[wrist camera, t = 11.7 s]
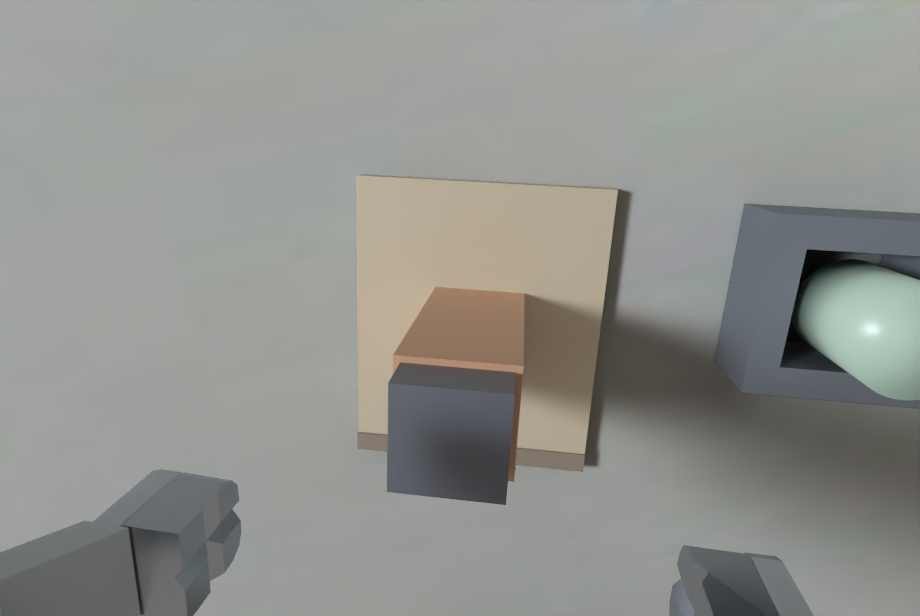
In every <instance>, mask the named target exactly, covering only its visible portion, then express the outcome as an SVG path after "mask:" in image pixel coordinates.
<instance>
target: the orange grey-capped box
mask: <svg viewBox="0 0 920 616" xmlns="http://www.w3.org/2000/svg"><path fill="white" fill-rule="evenodd" d="M523 368H524V293H513V292H499V291H485V290H472V289H458V288H445V287H435V288H434V290H433V292H432V293H431V295H430V296H429V298H428V300H427V301H426V303H425V304H424V306H423V308H422V309H421V311H420V312H419V314H418V316H417V317H416V319H415V320H414V322H413V324H412V325H411V327H410V329H409V330H408V332H407V333H406V335H405V337H404V338H403V340H402V341H401V343H400V345H399V346H398V348H397V349H396V351H395V353H394V354H393V375H392V377H391V379H390V381H389V382H388V453H387V492H394V493H403V494H412V495H421V496H430V497H439V498H448V499H458V500H467V501H476V502H485V503H494V504H503V505H506V496H507V483H508V481H514V474H515V462H516V450H517V439H518V427H519V415H520V404H521V392H522V380H523Z"/></svg>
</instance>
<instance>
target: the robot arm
mask: <svg viewBox="0 0 920 616" xmlns="http://www.w3.org/2000/svg"><path fill="white" fill-rule="evenodd" d="M238 501H239V495H238V487H237V484H235V483H234V482H233V481H231V480H225V479H219V478H213V477H207V476H201V475H195V474H189V473H181V472H176V471H169V470H163V469H160V470H155V471H152V472H151V473H150V474H149V475H147V476H146V477H145V478H144V479H143V480H142V481H140V482H139V483H138V484H137V485H136V486H134V487H133V488H132V489H131V490H130V491H129V492H127V493H126V494H125V495H124V496H123V497H122V498H120V499H119V500H118V501H117V502H116V503H114V504H113V505H112V506H111V507H110V508H109V509H107V510H106V511H105V512H104V513H103V514H101V515H100V516H99V517H98V518H97V519H96V520H94V521H93V522H90V521H83V522H80V523H77V524H75V525H72V526H70V527H67V528H64V529H62V530H59V531H56V532H54V533H51V534H48V535H46V536H43V537H40V538H38V539H35V540H32V541H30V542H27V543H24V544H22V545H19V546H17V547H14V548H11V549H9V550H6V551H3V552H1V553H0V616H193V615H194V614H195V613H196V611H197V610H198V608H199V607H200V606H201V604H202V603H203V602H204V600H205V599H206V598H207V596H208V595H209V593H210V581H211V580H212V579H214V578H216V577H218V576H220V575H222V574H223V573H225V571H226V570H227V569H228V567H229V566H230V564H231V563H232V561H233V559H234V557H235V554H236V552H237V549H238V547H239V543H240V536H241V521H240V519H239V518H238V516H237V515H236V514H235V512H234V511H233V510H232V508H233V507H234V506H235V505H236V503H237V502H238ZM677 565H678V569H679V572H680V575H681V579H680V580H679V581H678V582H676V583H675V584H674V585H673V586H672V591H671V597H670V609H669V616H814V615H813V614H812V612H811V610H810V608H809V607H808V605H807V603H806V601H805V600H804V598H803V596H802V595H801V593H800V591H799V589H798V588H797V586H796V584H795V582H794V581H793V579H792V577H791V576H790V574H789V572H788V570H787V569H786V567H785V565H784V563H783V562H782V560H780V559H779V558H778V557H776V556H769V555H761V554H752V553H744V554H743V553H736V552H729V551H722V550H714V549H707V548H700V547H693V546H685V545H684V546H683V547H682V549H681V551H680V554H679V559H678V563H677Z"/></svg>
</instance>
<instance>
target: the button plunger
mask: <svg viewBox="0 0 920 616" xmlns="http://www.w3.org/2000/svg"><path fill="white" fill-rule="evenodd" d="M791 319H792V323H793V326H794V328H795V330H796V332H797V334H798V335H799V336H800V337H801V338H802V339H803V340H804V341H805V342H806V343H807V344H809V345H810V346H812V347H813V348H814V349H816V350H817V351H819V352H820V353H821V354H823V355H824V356H826V357H827V358H828V359H830V360H831V361H833V362H834V363H835V364H837V365H838V366H840V367H841V368H842V369H844V370H845V371H846V372H848V373H849V374H851V375H852V376H853V377H855V378H856V379H858V380H859V381H860V382H862V383H863V384H865V385H866V386H867V387H869V388H870V389H872V390H873V391H875V392H876V393H878V394H880V395H883V396H885V397H888V398H892V399H897V400H920V280H918V279H915V278H912V277H909V276H906V275H903V274H901V273H898V272H895V271H892V270H889V269H886V268H883V267H881V266H878V265H875V264H872V263H869V262H866V261H862V260H855V259H846V260H839V261H835V262H832V263H829V264H826V265H824V266H822V267H820V268H818V269H817V270H815V271H814V272H813V273H811V274H810V275H809V276H808V277H807V278H806V279H805V280H804V281H803V282H802V283H801V285H800V286H799V288H798V290H797V295H796V299H795V303H794V308H793V312H792V316H791Z"/></svg>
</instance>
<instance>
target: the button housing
mask: <svg viewBox="0 0 920 616" xmlns="http://www.w3.org/2000/svg"><path fill="white" fill-rule="evenodd" d="M807 249H812V250H827V251H843V252H859V253H875V254H883V258H882V261H881V265H880V266H881V267H883V268H886V269H889V270H892V271H895V272H898V273H901V274H903V275H906V276H909V277H912V278H915V279H918V280H920V214H917V213H899V212H881V211H864V210H846V209H828V208H810V207H793V206H775V205H757V204H744V209H743V215H742V220H741V225H740V230H739V235H738V241H737V246H736V251H735V256H734V261H733V267H732V272H731V277H730V282H729V287H728V293H727V298H726V303H725V308H724V314H723V319H722V324H721V329H720V334H719V340H718V345H717V350H716V355H715V360H714V362H715V363H716V364H717V365H718V367H719V368H720V369H721V370H722V371H723V372H724V374H725V375H726V376H727V377H728V378H729V379H730V381H731V382H732V383H733V384H734V385H735V386H736V388H737V389H738V390H739V391H740V392H741V393H746V394H758V395H769V396H781V397H792V398H804V399H815V400H827V401H838V402H850V403H861V404H873V405H884V406H896V407H907V408H918V409H920V400H897V399H892V398H888V397H885V396H883V395H880V394H878V393H876V392H875V391H873V390H872V389H870V388H869V387H867V386H866V385H865V384H863V383H862V382H860V381H859V380H858V379H856V378H855V377H853V376H852V375H851V374H849V373H848V372H846V371H845V370H844V369H842V368H841V367H840V366H838V365H837V364H835V363H834V362H833V361H831V360H830V359H828V358H827V357H826V356H824V355H823V354H821V353H820V352H819V351H817V350H816V349H814V348H813V347H812V346H810V345H809V344H807V343H798V342H786V338H787V334H788V329H789V325H790V321H791V316H792V312H793V308H794V303H795V299H796V295H797V290H798V286H799V281H800V277H801V273H802V268H803V264H804V260H805V255H806V251H807Z"/></svg>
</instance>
